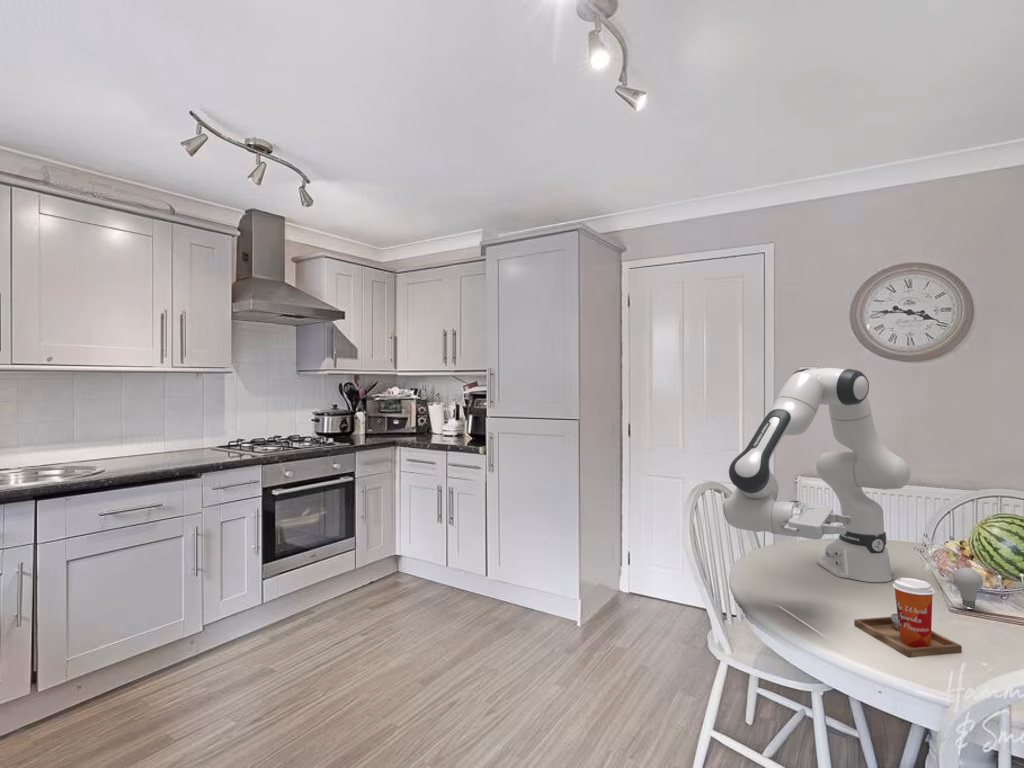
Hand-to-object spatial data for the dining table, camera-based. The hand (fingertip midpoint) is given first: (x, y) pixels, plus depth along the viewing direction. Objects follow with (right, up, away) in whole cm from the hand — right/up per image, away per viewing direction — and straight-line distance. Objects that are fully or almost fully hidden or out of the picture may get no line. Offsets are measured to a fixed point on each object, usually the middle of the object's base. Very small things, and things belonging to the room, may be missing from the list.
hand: (848, 525), depth 132 cm
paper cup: (+10, -25, -9) cm, 29 cm away
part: (+12, -25, -1) cm, 28 cm away
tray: (+9, -26, -6) cm, 28 cm away
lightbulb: (+38, -25, +10) cm, 47 cm away
